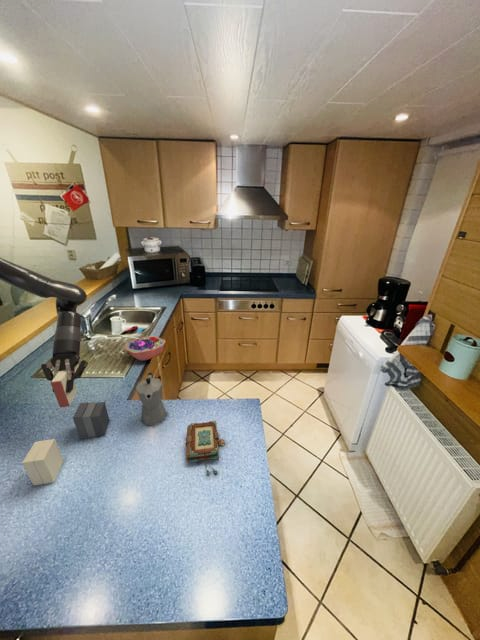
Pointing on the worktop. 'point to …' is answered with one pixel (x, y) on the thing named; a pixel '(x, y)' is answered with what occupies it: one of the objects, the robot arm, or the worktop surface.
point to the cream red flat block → (62, 389)
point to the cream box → (43, 462)
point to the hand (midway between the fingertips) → (62, 393)
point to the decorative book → (202, 442)
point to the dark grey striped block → (91, 419)
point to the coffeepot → (151, 400)
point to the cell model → (145, 347)
